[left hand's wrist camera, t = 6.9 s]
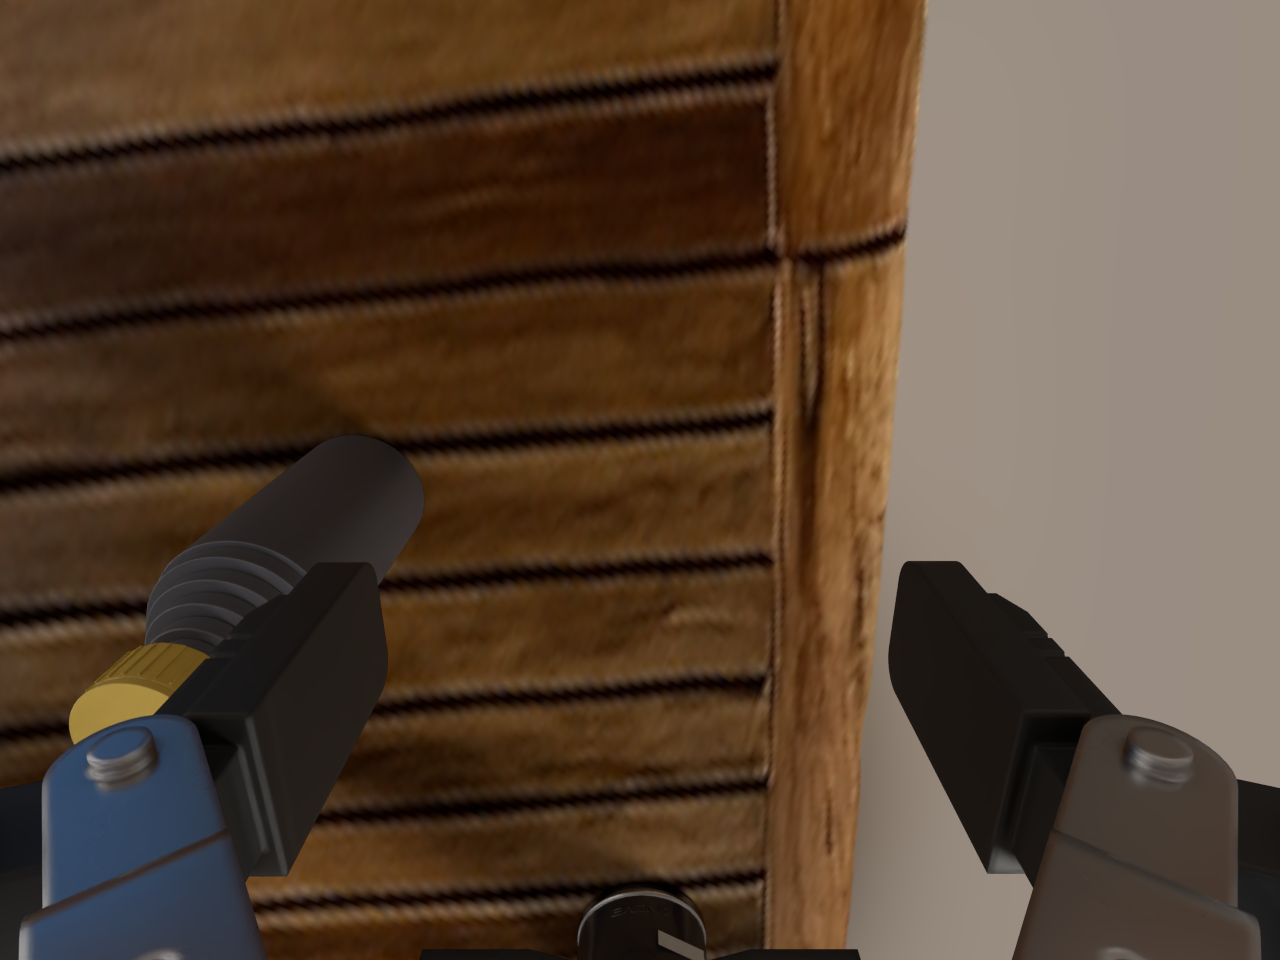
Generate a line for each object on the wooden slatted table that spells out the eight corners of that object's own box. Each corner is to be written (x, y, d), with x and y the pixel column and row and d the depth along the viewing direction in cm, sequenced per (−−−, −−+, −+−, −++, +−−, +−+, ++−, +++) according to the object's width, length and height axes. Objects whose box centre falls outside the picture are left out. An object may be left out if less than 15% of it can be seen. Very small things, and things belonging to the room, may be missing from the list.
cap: (263, 683, 25) (229, 728, 23) (208, 762, 27) (171, 811, 24) (146, 617, 24) (99, 658, 22) (94, 702, 26) (45, 748, 24)
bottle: (448, 483, 42) (297, 713, 24) (384, 572, 44) (199, 847, 26) (337, 409, 40) (81, 592, 22) (275, 504, 43) (-6, 746, 24)
